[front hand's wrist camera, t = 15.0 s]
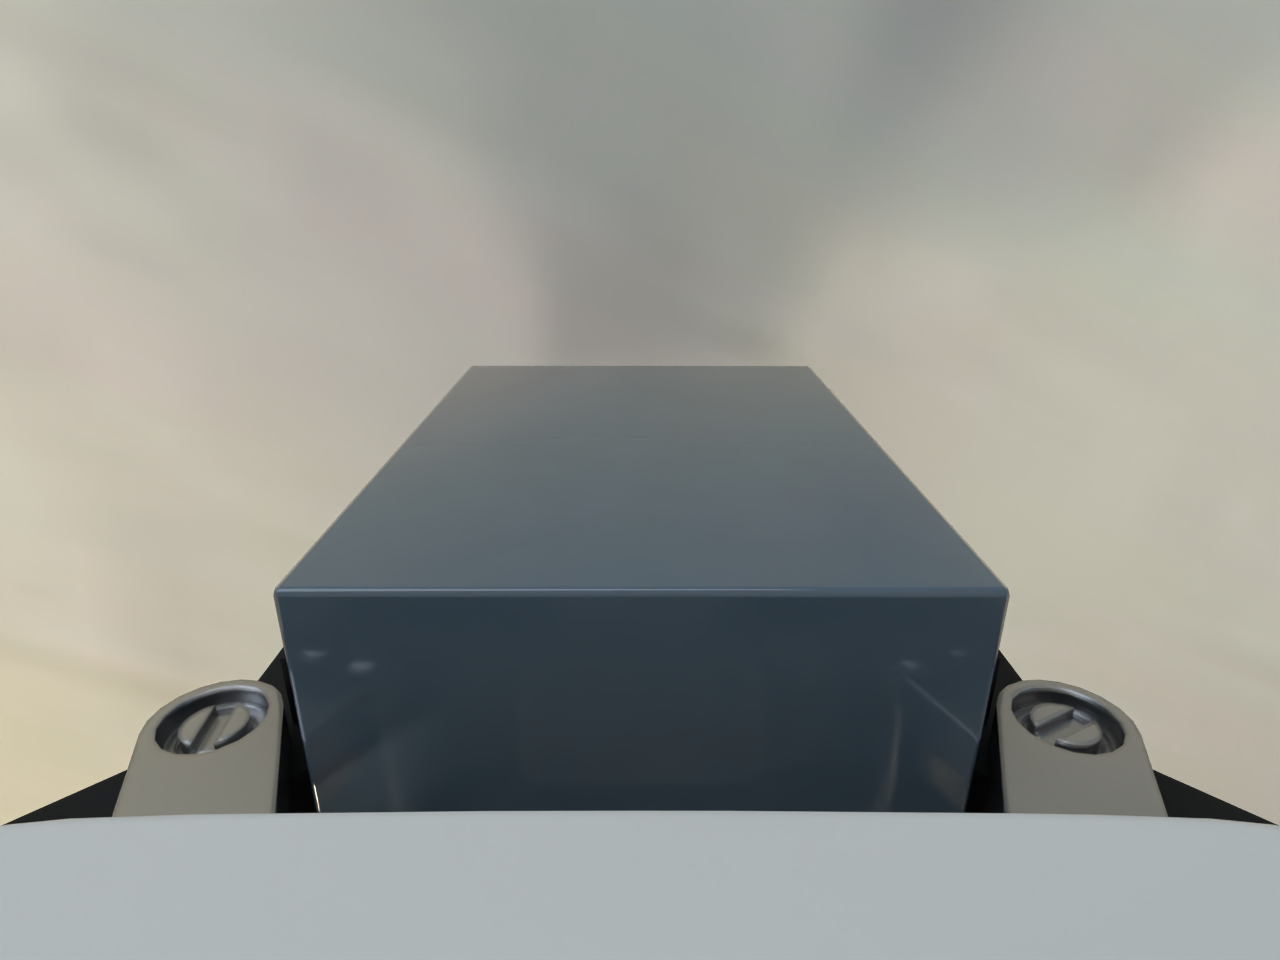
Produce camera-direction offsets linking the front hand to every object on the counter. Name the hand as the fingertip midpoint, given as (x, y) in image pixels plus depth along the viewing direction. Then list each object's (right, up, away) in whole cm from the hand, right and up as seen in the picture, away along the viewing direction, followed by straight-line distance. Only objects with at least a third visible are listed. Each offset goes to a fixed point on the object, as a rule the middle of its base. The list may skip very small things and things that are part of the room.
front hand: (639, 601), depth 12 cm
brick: (0, +1, +3) cm, 3 cm away
